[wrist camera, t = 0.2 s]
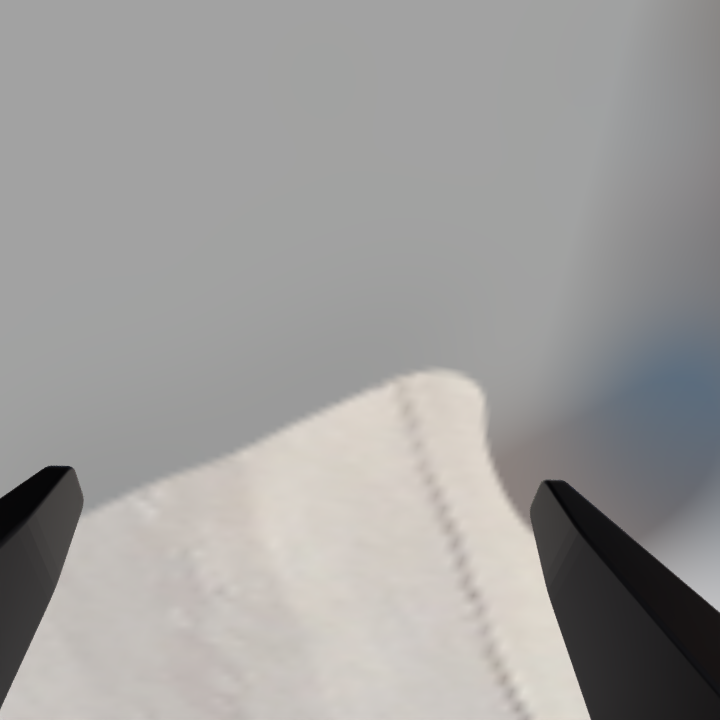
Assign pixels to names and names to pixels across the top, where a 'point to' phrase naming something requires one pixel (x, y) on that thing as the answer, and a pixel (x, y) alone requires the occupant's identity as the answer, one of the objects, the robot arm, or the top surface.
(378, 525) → the top surface
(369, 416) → the top surface
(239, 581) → the top surface
